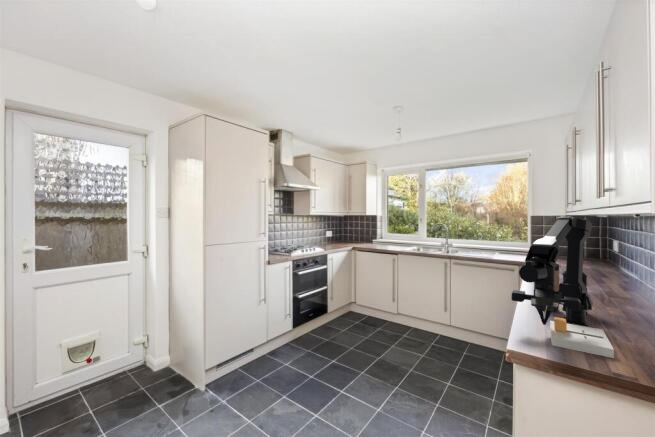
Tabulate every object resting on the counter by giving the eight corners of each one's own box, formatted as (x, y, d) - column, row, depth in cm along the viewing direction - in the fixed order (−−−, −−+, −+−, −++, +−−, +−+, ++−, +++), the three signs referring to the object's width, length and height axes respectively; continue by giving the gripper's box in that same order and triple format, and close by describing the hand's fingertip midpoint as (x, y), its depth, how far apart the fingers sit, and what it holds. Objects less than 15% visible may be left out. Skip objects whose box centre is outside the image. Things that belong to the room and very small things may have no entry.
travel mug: (537, 305, 131) (537, 261, 130) (559, 308, 126) (559, 263, 126) (536, 309, 125) (536, 263, 125) (559, 313, 120) (559, 265, 120)
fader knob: (554, 326, 98) (554, 317, 98) (565, 328, 96) (565, 318, 96) (554, 330, 95) (554, 320, 95) (566, 332, 93) (566, 322, 93)
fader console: (549, 327, 104) (549, 320, 104) (602, 336, 96) (602, 329, 96) (551, 345, 90) (551, 336, 90) (613, 358, 82) (613, 349, 81)
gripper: (510, 279, 97) (510, 325, 97) (583, 287, 86) (583, 339, 86) (512, 274, 106) (512, 316, 106) (579, 281, 95) (579, 327, 95)
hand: (544, 324), depth 98 cm, fingers closed
